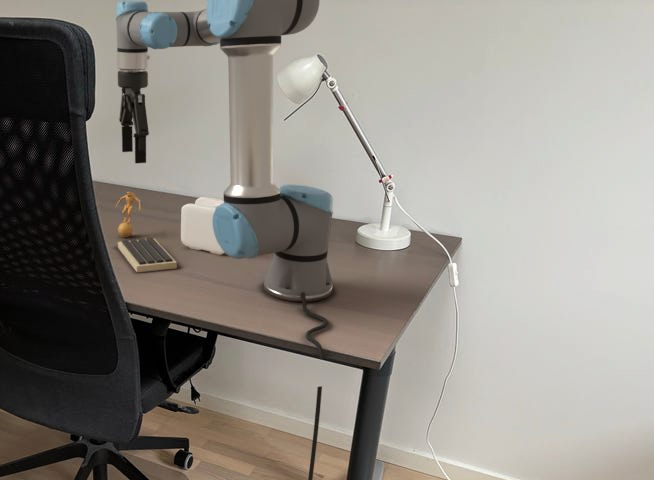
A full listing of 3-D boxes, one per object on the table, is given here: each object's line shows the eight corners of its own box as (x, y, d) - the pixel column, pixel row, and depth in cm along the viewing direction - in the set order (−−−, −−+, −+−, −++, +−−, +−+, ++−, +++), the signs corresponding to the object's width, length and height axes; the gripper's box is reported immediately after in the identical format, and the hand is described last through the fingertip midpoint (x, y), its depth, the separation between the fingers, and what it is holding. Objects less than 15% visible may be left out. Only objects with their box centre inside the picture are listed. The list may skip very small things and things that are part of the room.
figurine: (108, 236, 201) (107, 192, 196) (122, 230, 206) (121, 187, 200) (133, 241, 197) (133, 197, 192) (146, 235, 202) (146, 192, 196)
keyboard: (176, 268, 179) (176, 259, 178) (136, 272, 177) (136, 263, 176) (154, 244, 195) (154, 236, 194) (117, 247, 193) (117, 239, 192)
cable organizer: (177, 246, 194) (177, 203, 189) (198, 236, 202) (199, 194, 196) (227, 257, 187) (229, 212, 181) (247, 246, 195) (249, 202, 189)
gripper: (161, 76, 174) (161, 167, 183) (134, 64, 195) (135, 146, 204) (130, 76, 171) (131, 168, 181) (106, 64, 192) (109, 147, 202)
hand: (133, 157), depth 193 cm, fingers open, 13 cm apart
